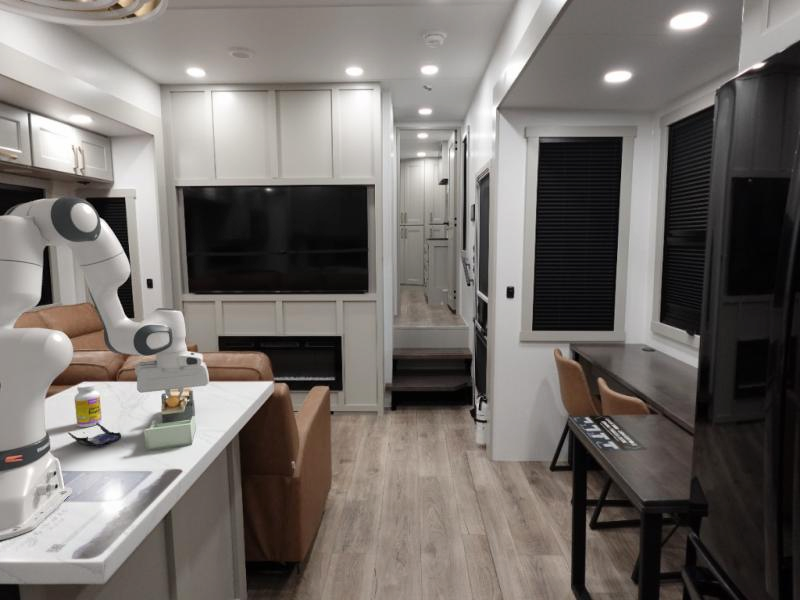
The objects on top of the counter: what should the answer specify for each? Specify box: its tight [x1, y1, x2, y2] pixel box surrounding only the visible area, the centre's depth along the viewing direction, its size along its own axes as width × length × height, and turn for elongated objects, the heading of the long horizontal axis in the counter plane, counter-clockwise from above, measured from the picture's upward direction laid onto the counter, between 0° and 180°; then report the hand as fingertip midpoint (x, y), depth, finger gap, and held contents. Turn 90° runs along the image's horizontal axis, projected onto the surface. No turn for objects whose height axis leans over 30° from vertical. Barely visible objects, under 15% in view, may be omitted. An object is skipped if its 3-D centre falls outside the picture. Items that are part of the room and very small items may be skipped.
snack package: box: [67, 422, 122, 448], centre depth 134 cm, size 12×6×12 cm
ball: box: [167, 396, 180, 407], centre depth 141 cm, size 4×4×4 cm
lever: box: [160, 387, 193, 415], centre depth 150 cm, size 24×7×5 cm, turn 19°
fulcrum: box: [161, 389, 196, 423], centre depth 150 cm, size 6×9×9 cm, turn 109°
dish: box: [143, 415, 197, 452], centre depth 135 cm, size 13×12×6 cm
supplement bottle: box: [74, 382, 103, 428], centre depth 148 cm, size 7×7×13 cm
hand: (175, 402), depth 145 cm, fingers closed, pressing on lever
